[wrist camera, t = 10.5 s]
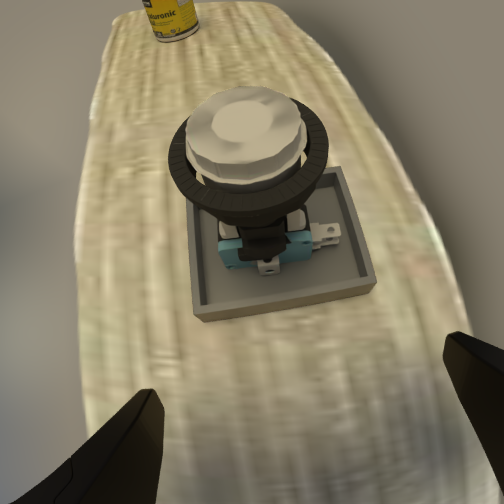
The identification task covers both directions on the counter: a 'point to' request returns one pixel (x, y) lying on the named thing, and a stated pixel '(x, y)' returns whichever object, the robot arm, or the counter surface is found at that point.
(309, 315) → the counter surface
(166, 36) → the supplement bottle
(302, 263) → the tray
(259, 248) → the push button
